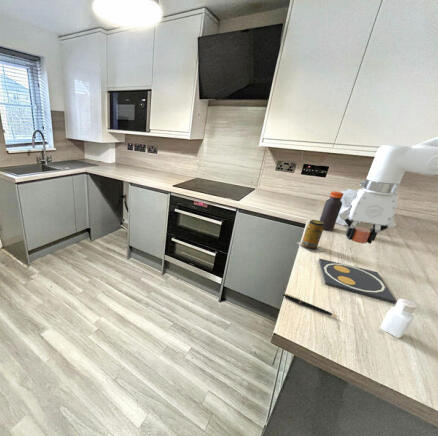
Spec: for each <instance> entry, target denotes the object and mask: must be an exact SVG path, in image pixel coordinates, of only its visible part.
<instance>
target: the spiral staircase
mask: <svg viewBox="0 0 438 436" xmlns="http://www.w3.org/2000/svg"><path fill="white" fill-rule="evenodd" d="M359 190H360V189H357V190H355V189H351V188H347V190H342V191H340V192H341V193H343V197H342V199H341V202H342V206H341V209H340V212H339V214H338V217H337V220H336V223H335V224H339V225H341V226H343V227H344V226H348V224H347V223H346V222H345V221H344V220H343V219H342V218H340V216H339V215H340V214H341V213H343V212H345V211H346V210H348V209H349V207H350V205H351V203H352V201H353V199H354V198H355V196H356V194H357V193H358V191H359ZM347 218H348V219H349V220H351V218H350V217H349V216H347ZM359 223H360V224H361V222H358V223H357V224H359Z"/></svg>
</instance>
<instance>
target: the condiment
mask: <svg viewBox="0 0 438 436" xmlns="http://www.w3.org/2000/svg"><path fill="white" fill-rule="evenodd" d="M323 225H324V223H323V222H321V221H320V220H317V219H311V220H309V222H308V225H307V226H306V228H305V231H304V234H303V237H302V241H301V242H300V241H299V242H298V241H297V245H299V246H301V247H303V248H304V249H306V250H308V251H310V252H312V253H314V252H316V253H317V252H326V250H325V249H323V248H321V247H320V246H319V243H320V241H321V238H322V235H323V232H324V230H323Z"/></svg>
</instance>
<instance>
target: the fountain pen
mask: <svg viewBox="0 0 438 436" xmlns="http://www.w3.org/2000/svg"><path fill="white" fill-rule="evenodd" d="M284 296H285V297H284ZM282 297H284V298H286V299H287V300H289V301H291V302H294V303H296V304H299V305H302V306H304V307H306V308H309V309H313V310H314V311H317V312H320V313H323V314H326V315H328V316H333V317H337V318H339V316H338V315H336V314H333V313H332V312H331V311H328V310H326V309H324V308H321V307H318V306H317V305H314V304H312V303H309V302H306V301H303V300H301V298H299V297H298V296H294V295H291V294H288V293H283V294H282Z"/></svg>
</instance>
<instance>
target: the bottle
mask: <svg viewBox="0 0 438 436" xmlns="http://www.w3.org/2000/svg"><path fill="white" fill-rule="evenodd" d="M341 192H342V191H336V190H335V191H333V190H332V191H331V192H330V195H329V198H328V199H326V200H325V203H324V206H323V209H322V212H321V215H320V218H319V221H321V222H323V223H324V225H323V231H325V232H326V231H327V232H331V231H333V230H334V228H335V225H336V224H337V223H336V220H337V217H338V214H339V212H340V209H341V206H342V202H341V199H342V197H343V193H341Z"/></svg>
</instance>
